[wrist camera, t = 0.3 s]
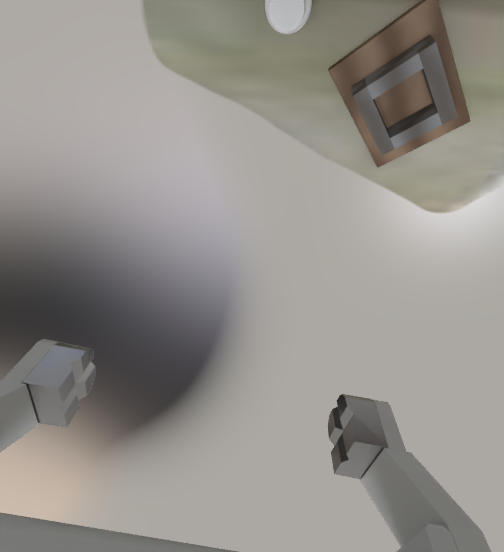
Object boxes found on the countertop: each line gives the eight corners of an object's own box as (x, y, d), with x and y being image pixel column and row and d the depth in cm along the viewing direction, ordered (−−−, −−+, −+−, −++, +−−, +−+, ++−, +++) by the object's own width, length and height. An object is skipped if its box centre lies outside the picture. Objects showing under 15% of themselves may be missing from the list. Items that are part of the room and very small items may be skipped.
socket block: (433, -8, 38) (443, -2, 35) (468, 118, 48) (477, 131, 45) (328, 68, 46) (329, 79, 43) (376, 164, 56) (380, 178, 53)
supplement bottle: (317, -32, 38) (316, -21, 32) (308, 24, 42) (306, 44, 36) (273, -37, 39) (264, -27, 32) (268, 19, 43) (259, 38, 36)
